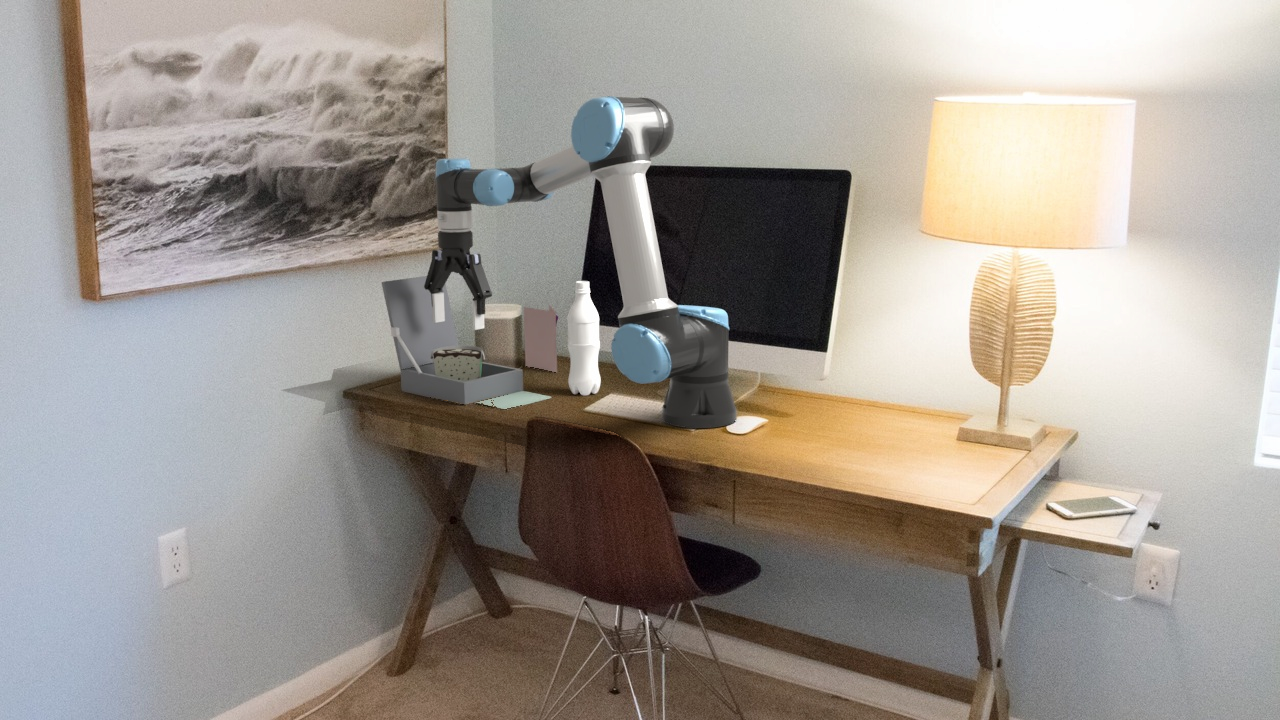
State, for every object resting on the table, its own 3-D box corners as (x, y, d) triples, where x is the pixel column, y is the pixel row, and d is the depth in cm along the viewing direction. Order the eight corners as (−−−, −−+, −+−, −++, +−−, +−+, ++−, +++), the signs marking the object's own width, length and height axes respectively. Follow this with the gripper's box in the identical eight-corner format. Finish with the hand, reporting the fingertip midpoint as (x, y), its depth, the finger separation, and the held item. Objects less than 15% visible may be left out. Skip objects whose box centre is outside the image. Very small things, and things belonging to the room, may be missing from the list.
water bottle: (582, 398, 247) (579, 285, 242) (562, 392, 252) (559, 281, 247) (607, 393, 252) (605, 281, 247) (587, 387, 257) (585, 278, 252)
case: (523, 391, 254) (519, 282, 249) (464, 405, 242) (459, 291, 237) (445, 374, 272) (440, 273, 267) (386, 387, 259) (380, 281, 254)
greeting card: (560, 372, 273) (559, 311, 270) (530, 374, 271) (528, 312, 268) (554, 363, 284) (552, 304, 281) (524, 364, 282) (522, 305, 279)
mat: (551, 398, 248) (551, 396, 248) (503, 410, 237) (503, 408, 237) (523, 392, 254) (523, 390, 254) (475, 403, 243) (475, 402, 243)
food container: (492, 388, 258) (490, 345, 255) (485, 394, 252) (484, 350, 249) (439, 387, 259) (437, 344, 257) (431, 394, 253) (429, 350, 251)
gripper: (406, 227, 253) (410, 321, 257) (479, 235, 237) (482, 334, 241) (432, 225, 259) (436, 316, 263) (506, 232, 242) (509, 329, 247)
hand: (458, 325), depth 252 cm, fingers open, 13 cm apart
